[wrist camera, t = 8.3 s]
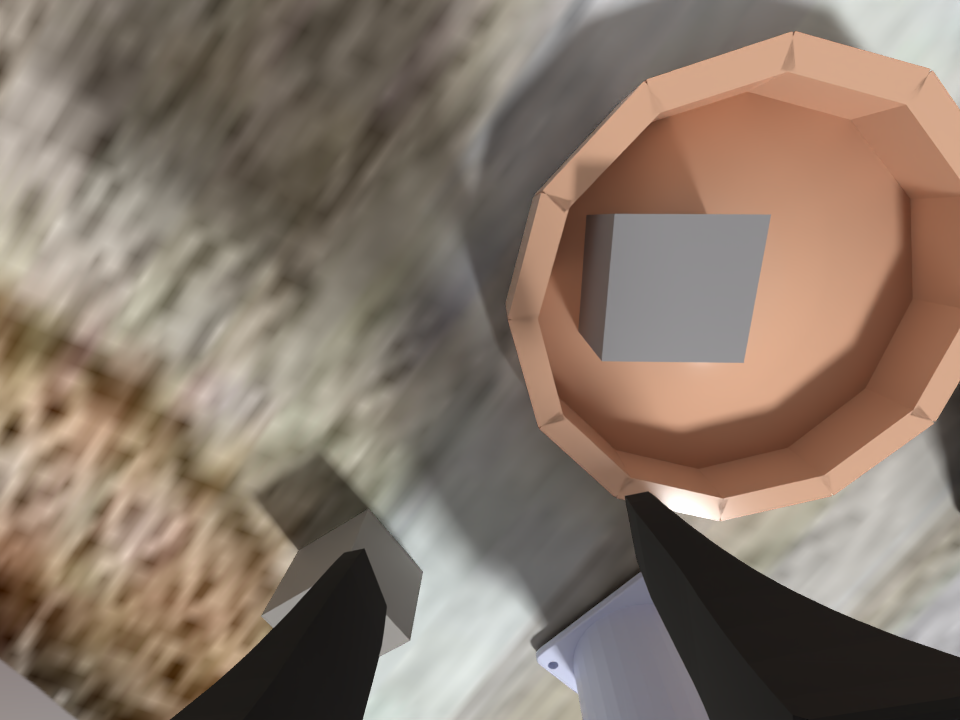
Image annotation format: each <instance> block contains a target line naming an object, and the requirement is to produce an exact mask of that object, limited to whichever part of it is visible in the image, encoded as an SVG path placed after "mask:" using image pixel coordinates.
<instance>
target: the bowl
mask: <svg viewBox="0 0 960 720" xmlns="http://www.w3.org/2000/svg"><path fill="white" fill-rule="evenodd" d="M929 71H930V69H929V68H925V67H922V66H918V65H915V64H911V63H907V62H904V61H900V60H897V59H893V58H890V57H886V56H883V55H879V54H875V53H872V52H868V51H865V50H861V49H858V48H854V47H851V46H847V45H843V44H840V43H836V42H833V41H829V40H826V39H822V38H818V37H815V36H811V35H808V34H804V33H801V32H797V31H795V32H792V31H791V32H788V33H785V34H782V35H779V36H776V37H773V38H770V39H767V40H764V41H761V42H758V43H755V44H752V45H749V46H746V47H743V48H740V49H737V50H734V51H731V52H728V53H725V54H722V55H719V56H716V57H713V58H710V59H707V60H704V61H701V62H698V63H695V64H692V65H688V66H685V67H682V68H679V69H676V70H673V71H670V72H667V73H664V74H661V75H658V76H655V77H652V78H649V79H647V80H645V81H644V82H642V83H641V84H640V85H639V86H638V87H637V88H636V89H635V90H634V91H632V92H631V93H630V94H629V95H628V96H627V97H626V98H625V99H624V100H622V101H621V102H620V103H619V104H618V105H617V106H616V107H615V108H614V109H613V110H612V111H611V112H610V114H609V115H608V116H607V117H606V118H605V119H604V120H603V121H602V122H601V123H600V124H599V125H598V127H597V128H596V129H595V130H594V131H593V132H592V133H591V134H590V135H589V136H588V137H587V138H586V139H585V141H584V142H583V143H582V144H581V145H580V146H579V147H578V148H577V149H576V150H575V151H574V152H573V153H572V155H571V156H570V157H569V158H568V159H567V160H566V161H565V162H564V163H563V164H562V165H561V166H560V168H559V169H558V170H557V171H556V172H555V173H554V174H553V175H552V176H551V177H550V178H549V179H548V180H547V182H546V183H545V184H544V185H543V186H542V187H541V188H540V189H539V190H538V191H537V192H536V193H535V194H534V197H533V199H532V202H531V206H530V210H529V214H528V218H527V222H526V226H525V229H524V233H523V237H522V241H521V245H520V249H519V253H518V256H517V260H516V264H515V268H514V272H513V276H512V280H511V283H510V287H509V291H508V295H507V299H506V303H505V304H506V305H505V306H506V311H507V317H508V322H509V326H510V329H511V333H512V336H513V340H514V343H515V347H516V351H517V354H518V358H519V361H520V365H521V368H522V372H523V375H524V379H525V382H526V386H527V389H528V393H529V396H530V400H531V403H532V407H533V410H534V414H535V418H536V421H537V425H538V427H539V429H540V430H541V431H542V432H543V433H544V434H545V435H547V436H548V437H549V438H550V439H551V440H552V441H553V442H554V443H555V444H557V445H558V446H559V447H560V448H561V449H562V450H563V451H564V452H565V453H566V454H568V455H569V456H570V457H571V458H572V459H573V460H574V461H575V462H576V463H578V464H579V465H580V466H581V467H582V468H583V469H584V470H585V471H586V472H587V473H589V474H590V475H591V476H592V477H593V478H594V479H595V480H596V481H597V482H599V483H600V484H601V485H602V486H603V487H604V488H605V489H606V490H607V491H608V492H610V493H611V494H612V495H613V496H614V497H616V498H618V499H622V500H625V496H627V495H632V494H637V493H642V492H647V491H649V492H650V493H652V494H653V495H654V496H655V497H657V498H658V499H659V500H660V501H661V502H662V503H663V504H665V505H666V506H667V507H668V508H669V509H670V510H672V511H676V512H680V513H685V514H689V515H694V516H698V517H703V518H707V519H712V520H716V521H719V520H720V521H724V520H728V519H733V518H737V517H741V516H746V515H750V514H755V513H759V512H764V511H768V510H773V509H777V508H781V507H786V506H790V505H795V504H799V503H804V502H808V501H813V500H817V499H821V498H826V497H830V496H832V494H833V495H835V494H836V493H838V492H839V491H840V490H842V489H843V488H845V487H846V486H847V485H849V484H850V483H852V482H853V481H854V480H856V479H857V478H859V477H860V476H861V475H863V474H864V473H866V472H867V471H868V470H870V469H871V468H873V467H874V466H875V465H877V464H878V463H880V462H881V461H882V460H884V459H885V458H887V457H888V456H889V455H891V454H892V453H893V452H895V451H896V450H898V449H899V448H900V447H902V446H903V445H905V444H906V443H907V442H909V441H910V440H912V439H913V438H914V437H916V436H917V435H919V434H920V433H921V432H923V431H924V430H926V429H927V428H928V427H930V426H931V425H933V424H934V423H933V422H932V421H935V422H936V420H937V419H938V417H939V415H940V414H941V412H942V410H943V408H944V407H945V405H946V403H947V402H948V400H949V398H950V397H951V395H952V393H953V392H954V390H955V388H956V387H957V385H958V383H959V381H960V109H959V108H958V106H957V105H956V103H955V102H954V101H953V99H952V98H951V96H950V95H949V93H948V92H947V90H946V89H945V87H944V86H943V85H942V83H941V82H940V80H939V79H938V77H937V76H936V74H935V73H934V72H933V71H930V72H929ZM598 214H763V215H771V218H770V223H769V228H768V234H767V239H766V245H765V250H764V256H763V261H762V267H761V272H760V277H759V283H758V288H757V294H756V299H755V305H754V310H753V315H752V321H751V326H750V332H749V337H748V343H747V348H746V353H745V359H744V363H709V362H620V361H601V360H600V358H599V357H598V356H597V355H596V353H595V352H594V351H593V350H592V348H591V347H590V346H589V344H588V343H587V342H586V341H585V339H584V338H583V337H582V335H581V334H580V333H579V332H578V328H579V314H580V300H581V286H582V272H583V257H584V243H585V229H586V215H598ZM831 493H832V494H831Z"/></svg>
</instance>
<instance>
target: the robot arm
mask: <svg viewBox="0 0 960 720" xmlns="http://www.w3.org/2000/svg"><path fill="white" fill-rule="evenodd" d="M625 500H626V506H627V511H628V516H629V522H630V527H631V532H632V538H633V543H634V548H635V554H636V559H637V562H638V565H639V567H640V570H641V572H640V573H638V574H637V575H636V576H634V577H633V578H632V579H630V580H629V581H628V582H626V583H625V584H624V585H622V586H621V587H620V588H618V589H617V590H616V591H614V592H613V593H612V594H611V595H609V596H608V597H607V598H605V599H604V600H603V601H601V602H600V603H599V604H597V605H596V606H595V607H593V608H592V609H591V610H589V611H588V612H587V613H585V614H584V615H583V616H581V617H580V618H579V619H577V620H576V621H575V622H574V623H572V624H571V625H570V626H568V627H567V628H566V629H564V630H563V631H562V632H560V633H559V634H558V635H556V636H555V637H554V638H552V639H551V640H550V641H548V642H547V643H546V644H544V645H543V646H542V647H541V648H539V649H538V650H537V652H536V658H537V662H538V663H539V664H540V665H541V666H542V667H543V668H545V669H546V670H547V671H549V672H550V673H551V674H553V675H554V676H555V677H556V678H558V679H559V680H560V681H562V682H563V683H564V684H566V685H567V686H568V687H570V688H571V689H572V690H573V691H575V692H576V693H577V694H578V696H579V702H580V707H581V713H582V718H583V720H960V657H957V656H954V655H951V654H948V653H945V652H942V651H939V650H936V649H934V648H931V647H928V646H925V645H922V644H919V643H916V642H913V641H910V640H907V639H904V638H901V637H898V636H896V635H893V634H890V633H888V632H885V631H883V630H880V629H878V628H875V627H873V626H870V625H868V624H865V623H863V622H860V621H858V620H855V619H853V618H851V617H848V616H846V615H844V614H841V613H839V612H837V611H834V610H832V609H830V608H828V607H826V606H824V605H822V604H819V603H817V602H815V601H813V600H811V599H809V598H807V597H805V596H803V595H801V594H798V593H796V592H794V591H793V590H791V589H789V588H787V587H785V586H783V585H781V584H779V583H777V582H776V581H774V580H772V579H770V578H768V577H767V576H765V575H763V574H761V573H760V572H758V571H756V570H754V569H753V568H751V567H750V566H748V565H746V564H745V563H743V562H742V561H740V560H738V559H737V558H735V557H734V556H732V555H731V554H729V553H728V552H726V551H725V550H723V549H722V548H720V547H719V546H718V545H716V544H715V543H713V542H712V541H710V540H709V539H708V538H706V537H705V536H704V535H702V534H701V533H700V532H698V531H697V530H696V529H694V528H693V527H692V526H690V525H689V524H688V523H687V522H685V521H684V520H683V519H681V518H680V517H679V516H678V515H677V514H675V513H674V512H673V511H672V510H670V509H669V508H668V507H667V506H666V505H665V504H663V503H662V502H661V501H660V500H659V499H658V498H657V497H655V496H654V495H653V494H652V493H650V492H649V491H647V492H642V493H637V494H632V495H627V496H625ZM386 612H387V605H386V602H385V599H384V597H383V594H382V592H381V589H380V587H379V584H378V581H377V579H376V576H375V574H374V571H373V569H372V566H371V564H370V561H369V558H368V556H367V553H366V551H365V548H364V549H359V550H354V551H349V552H344V553H343V554H342V555H341V556H340V557H339V558H338V559H337V560H336V561H335V562H334V563H333V564H332V565H331V566H330V567H329V568H328V570H327V571H326V572H325V573H324V574H323V575H322V576H321V577H320V578H319V580H318V581H317V582H316V583H315V584H314V585H313V586H312V587H311V588H310V590H309V591H308V592H307V593H306V594H305V595H304V596H303V597H302V598H301V599H300V601H299V602H298V603H297V604H296V605H295V606H294V607H293V608H292V609H291V610H290V611H289V613H288V614H287V615H286V616H285V617H284V618H283V619H282V620H281V621H280V622H279V623H278V624H277V625H276V626H275V627H274V628H273V629H272V630H271V631H270V632H269V633H268V634H267V635H266V636H265V637H264V638H263V639H262V640H261V641H260V642H259V643H258V644H257V645H256V646H255V647H254V648H253V649H252V650H251V651H250V652H249V653H248V654H247V655H246V656H245V657H244V658H243V659H242V660H241V661H240V662H238V663H237V664H236V665H235V666H234V667H233V668H232V669H231V670H230V671H228V672H227V673H226V674H225V675H224V676H223V677H222V678H221V679H219V680H218V681H217V682H216V683H215V684H214V685H212V686H211V687H210V688H209V689H208V690H206V691H205V692H204V693H203V694H201V695H200V696H199V697H198V698H196V699H195V700H194V701H193V702H191V703H190V704H189V705H188V706H186V707H185V708H184V709H183V710H182V711H180V712H179V713H178V714H177V715H175V716H174V717H173V718H172V719H170V720H363V716H364V712H365V709H366V705H367V701H368V697H369V694H370V690H371V686H372V682H373V679H374V675H375V671H376V667H377V663H378V659H379V655H380V651H381V647H382V642H383V635H384V628H385V620H386ZM552 661H555V662H552Z"/></svg>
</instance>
